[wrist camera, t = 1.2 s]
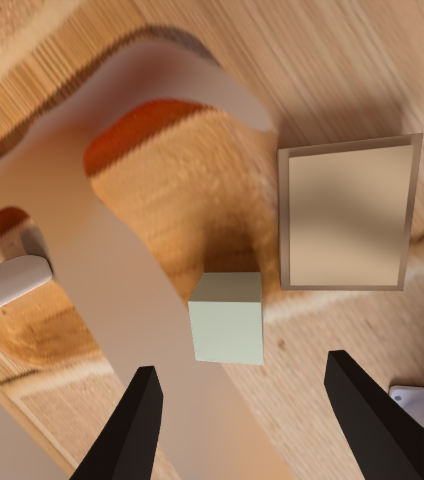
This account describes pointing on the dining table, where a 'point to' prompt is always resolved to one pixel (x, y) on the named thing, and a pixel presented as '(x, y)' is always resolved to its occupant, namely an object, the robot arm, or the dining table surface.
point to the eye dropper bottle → (22, 276)
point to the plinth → (347, 213)
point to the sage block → (228, 318)
